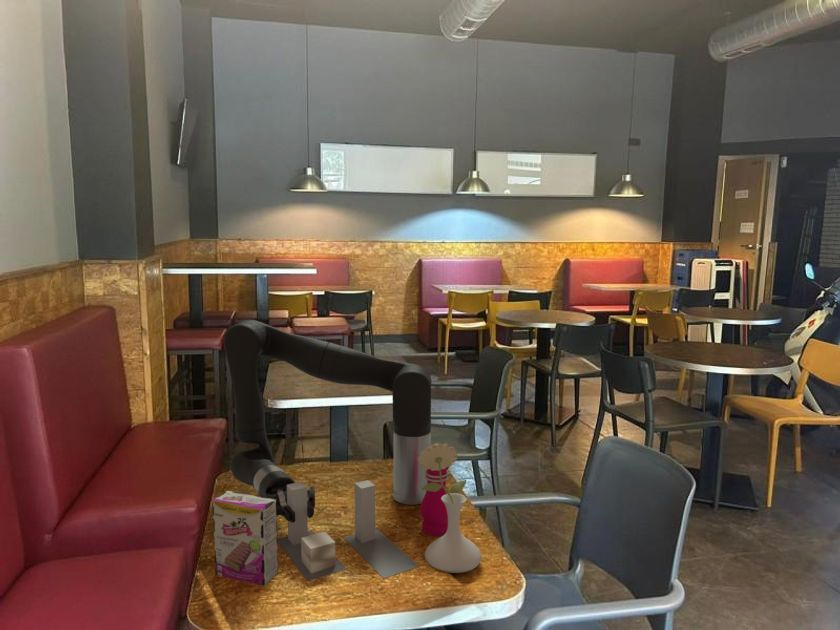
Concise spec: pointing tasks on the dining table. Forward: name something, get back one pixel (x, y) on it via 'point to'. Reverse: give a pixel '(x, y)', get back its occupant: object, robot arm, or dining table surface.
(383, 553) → the grey base with post
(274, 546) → the candy bar box
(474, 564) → the flower in vase
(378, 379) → the robot arm
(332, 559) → the pale block
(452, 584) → the dining table surface
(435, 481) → the pepper mill
